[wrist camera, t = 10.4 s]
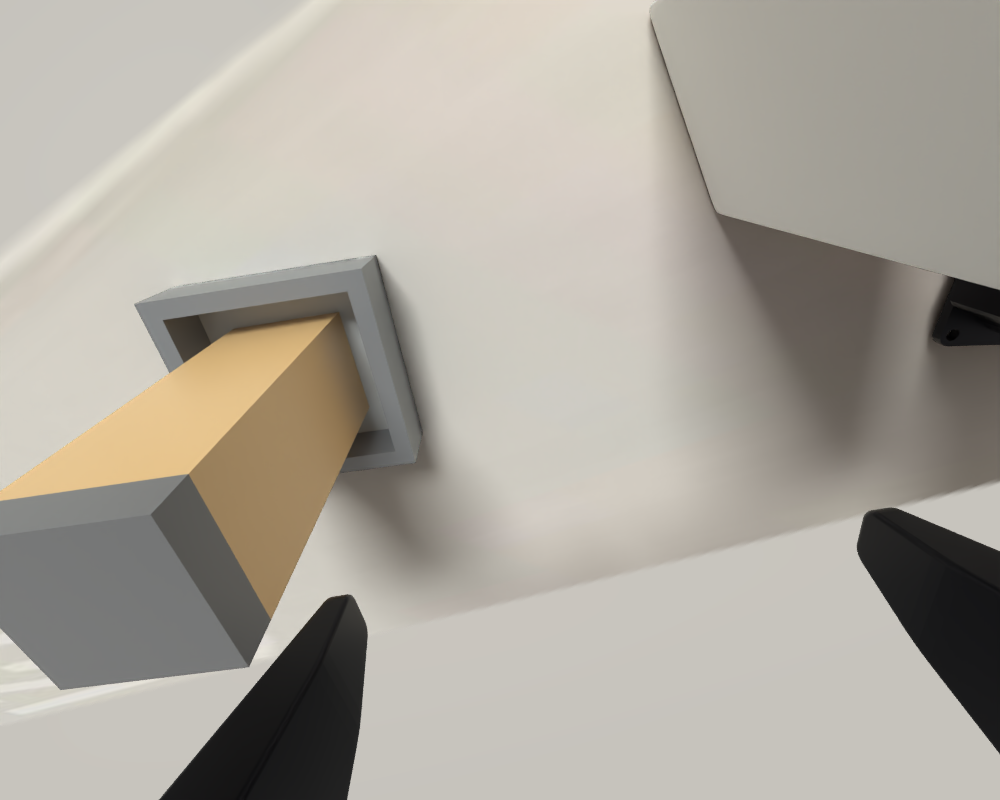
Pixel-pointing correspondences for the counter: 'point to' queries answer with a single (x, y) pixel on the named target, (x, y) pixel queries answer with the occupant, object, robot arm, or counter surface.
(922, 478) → the counter surface
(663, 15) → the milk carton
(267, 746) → the robot arm
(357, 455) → the socket collar
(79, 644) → the plug
